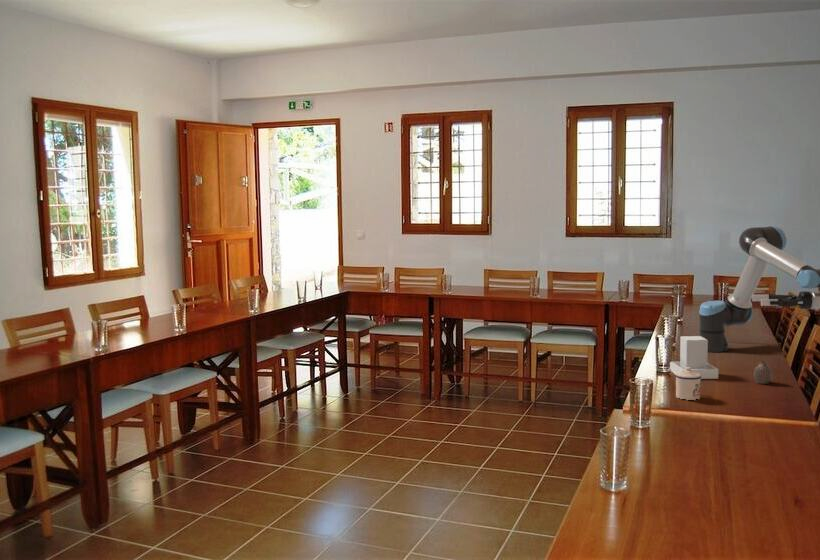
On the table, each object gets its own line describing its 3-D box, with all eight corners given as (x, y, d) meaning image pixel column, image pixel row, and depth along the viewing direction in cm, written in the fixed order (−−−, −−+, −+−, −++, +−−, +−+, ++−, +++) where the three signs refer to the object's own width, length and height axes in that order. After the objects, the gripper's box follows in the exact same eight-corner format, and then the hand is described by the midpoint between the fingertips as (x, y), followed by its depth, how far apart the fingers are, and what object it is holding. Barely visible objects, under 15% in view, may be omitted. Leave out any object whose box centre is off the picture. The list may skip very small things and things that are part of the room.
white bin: (669, 370, 322) (669, 361, 322) (704, 370, 322) (704, 361, 322) (681, 379, 307) (681, 369, 307) (718, 378, 307) (718, 369, 307)
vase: (768, 380, 302) (769, 359, 301) (775, 385, 295) (775, 363, 294) (750, 380, 302) (751, 359, 301) (757, 385, 295) (757, 363, 294)
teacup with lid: (697, 402, 274) (698, 371, 273) (672, 399, 279) (672, 368, 278) (705, 394, 284) (705, 364, 282) (680, 391, 289) (680, 362, 287)
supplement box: (707, 374, 310) (708, 339, 309) (686, 375, 311) (686, 340, 309) (700, 369, 320) (701, 335, 318) (679, 370, 320) (680, 336, 318)
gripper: (820, 313, 304) (764, 313, 308) (800, 304, 328) (749, 304, 332) (820, 295, 303) (765, 295, 307) (800, 287, 327) (749, 288, 331)
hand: (756, 300), depth 319 cm, fingers open, 13 cm apart
